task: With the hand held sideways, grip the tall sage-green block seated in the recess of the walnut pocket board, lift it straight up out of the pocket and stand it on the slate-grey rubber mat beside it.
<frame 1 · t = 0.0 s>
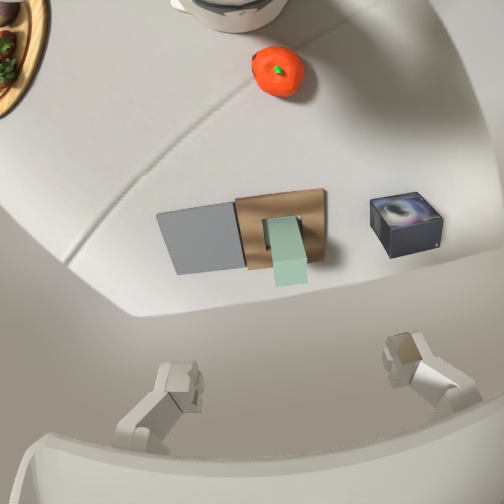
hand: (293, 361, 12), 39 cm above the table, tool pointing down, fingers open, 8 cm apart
rubber mat: (202, 240, 55), on the table
green block: (282, 229, 54), resting in pocket board
small box: (393, 207, 51), on the table
pocket board: (282, 229, 54), on the table
pumpkin: (277, 71, 37), on the table
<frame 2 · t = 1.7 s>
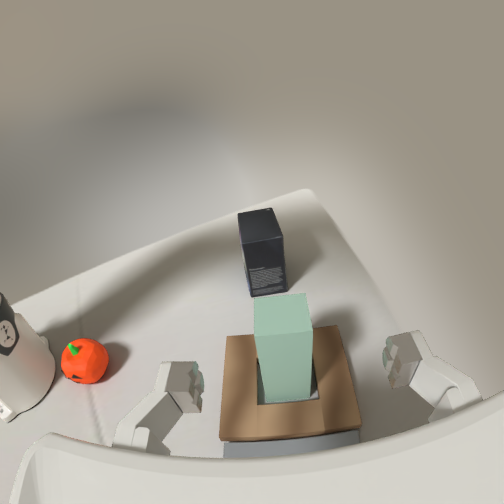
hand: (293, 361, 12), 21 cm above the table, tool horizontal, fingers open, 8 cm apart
rubber mat: (295, 500, 20), on the table
green block: (286, 383, 33), resting in pocket board
small box: (265, 277, 51), on the table
pocket board: (286, 382, 33), on the table
pumpkin: (93, 371, 36), on the table
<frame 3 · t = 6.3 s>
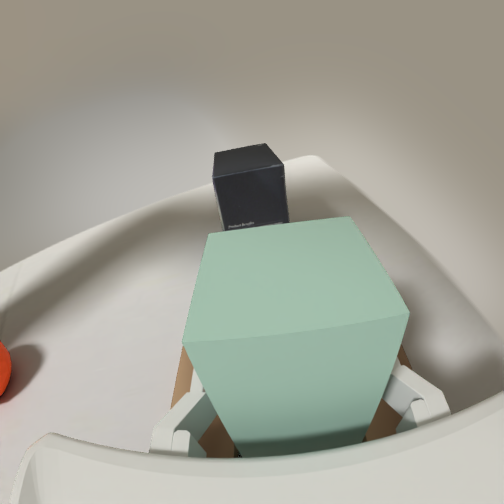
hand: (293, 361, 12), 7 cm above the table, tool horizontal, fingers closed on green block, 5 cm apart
green block: (298, 436, 14), resting in pocket board, touching gripper
small box: (257, 248, 33), on the table
pocket board: (298, 436, 14), on the table
when the fingers open (8 cm above the table, at t = 12.7 s): green block drops 1 cm, resting on rubber mat.
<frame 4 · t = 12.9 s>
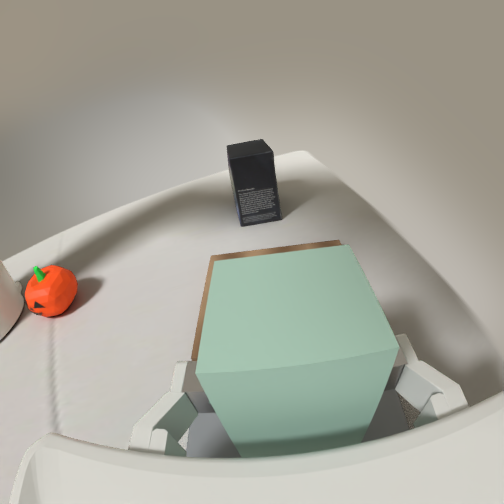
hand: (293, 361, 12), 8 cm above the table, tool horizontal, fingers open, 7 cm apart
rubber mat: (298, 447, 15), on the table
green block: (298, 443, 15), point 1 cm above the table, touching rubber mat
small box: (257, 211, 47), on the table
pocket board: (281, 298, 28), on the table
pumpkin: (61, 306, 32), on the table
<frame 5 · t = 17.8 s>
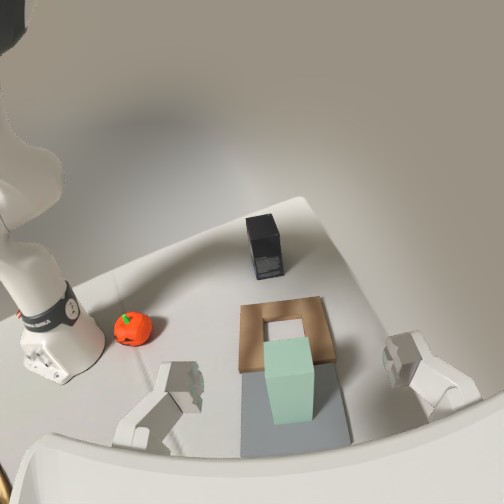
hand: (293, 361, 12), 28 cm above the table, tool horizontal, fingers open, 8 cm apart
rubber mat: (292, 410, 36), on the table
green block: (291, 407, 36), point 1 cm above the table, touching rubber mat
small box: (267, 265, 68), on the table
pocket board: (284, 334, 49), on the table
pumpkin: (138, 337, 53), on the table
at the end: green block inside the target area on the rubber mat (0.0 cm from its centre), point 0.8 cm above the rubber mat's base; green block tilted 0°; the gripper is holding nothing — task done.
